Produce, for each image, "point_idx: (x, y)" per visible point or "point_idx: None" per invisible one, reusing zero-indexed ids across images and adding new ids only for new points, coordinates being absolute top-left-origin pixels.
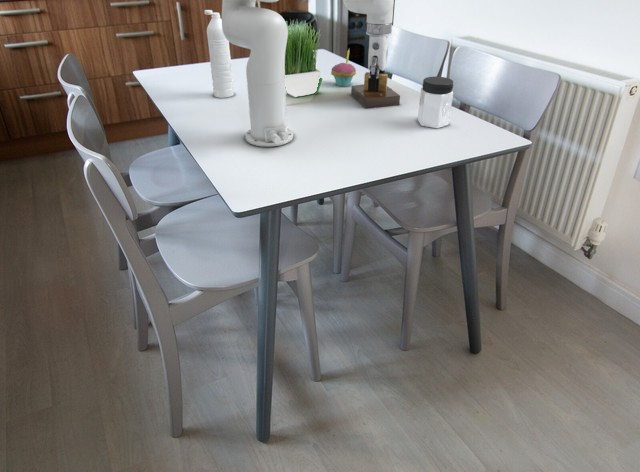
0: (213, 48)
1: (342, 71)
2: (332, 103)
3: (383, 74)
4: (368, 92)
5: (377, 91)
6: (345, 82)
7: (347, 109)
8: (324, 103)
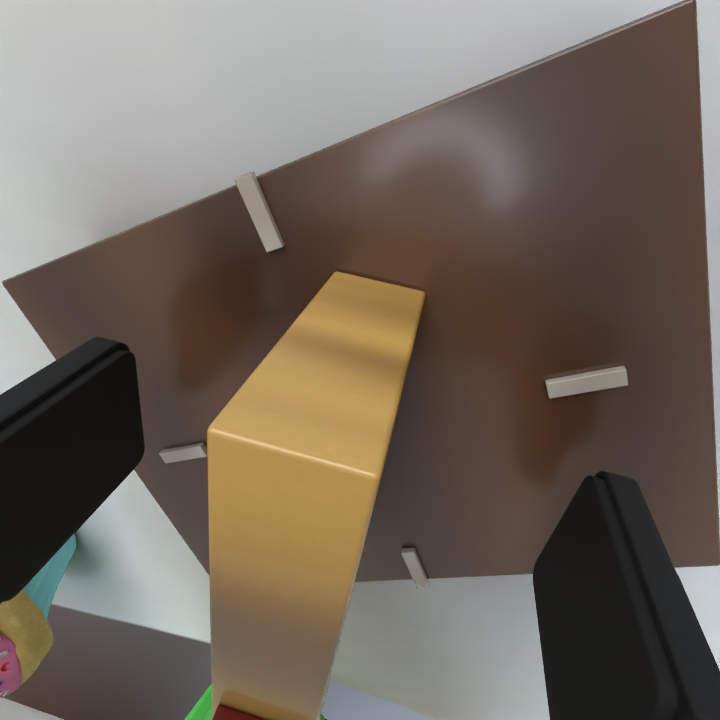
0: None
1: (3, 671)
2: (478, 651)
3: (251, 527)
4: (445, 504)
5: (627, 480)
6: None
7: None
8: (475, 684)
